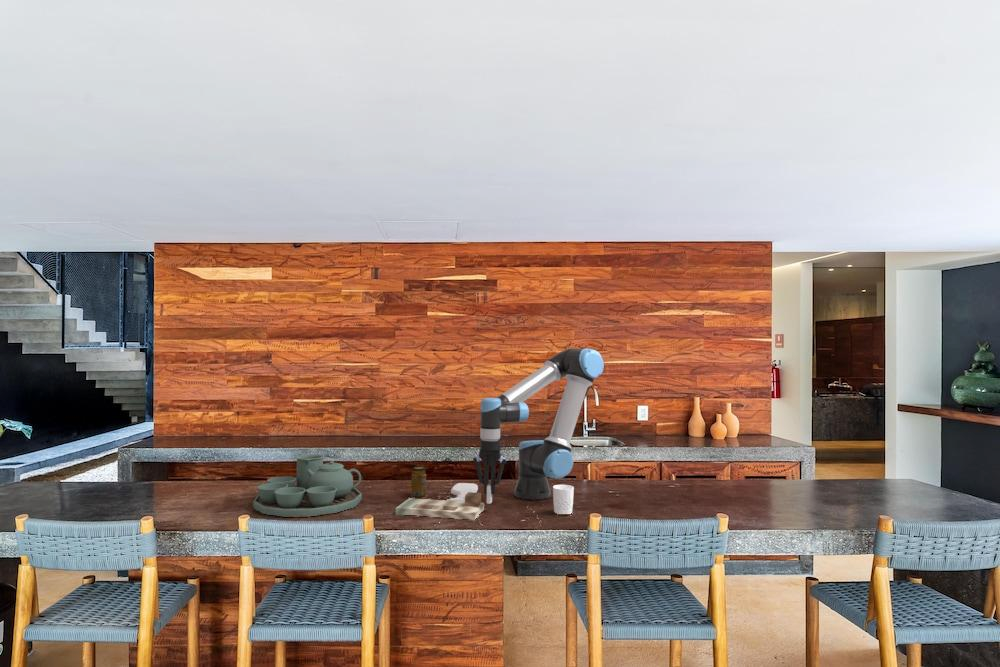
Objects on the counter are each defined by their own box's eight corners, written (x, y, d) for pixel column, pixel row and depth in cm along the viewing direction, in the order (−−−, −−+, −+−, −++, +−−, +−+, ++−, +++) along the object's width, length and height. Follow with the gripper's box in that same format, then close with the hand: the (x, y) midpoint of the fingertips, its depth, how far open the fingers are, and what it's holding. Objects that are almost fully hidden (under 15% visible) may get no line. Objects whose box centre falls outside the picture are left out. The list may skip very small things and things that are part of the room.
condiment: (421, 494, 257) (421, 465, 258) (432, 498, 251) (432, 468, 251) (406, 496, 253) (406, 467, 253) (417, 500, 246) (417, 470, 246)
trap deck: (484, 509, 234) (484, 502, 234) (475, 520, 219) (475, 513, 219) (409, 504, 240) (409, 498, 240) (395, 514, 225) (395, 508, 225)
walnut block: (480, 503, 233) (480, 493, 233) (477, 507, 228) (477, 496, 228) (468, 502, 234) (468, 492, 234) (464, 506, 229) (464, 495, 229)
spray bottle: (479, 490, 267) (469, 505, 242) (454, 489, 268) (442, 504, 244) (479, 483, 267) (470, 498, 242) (454, 482, 268) (442, 497, 244)
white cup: (568, 518, 224) (568, 490, 224) (548, 514, 228) (549, 487, 228) (577, 513, 231) (577, 486, 231) (558, 509, 235) (558, 483, 235)
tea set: (235, 505, 237) (236, 462, 238) (326, 488, 267) (327, 450, 267) (286, 526, 211) (287, 478, 211) (381, 504, 240) (382, 462, 240)
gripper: (509, 438, 233) (508, 501, 232) (475, 437, 235) (474, 499, 235) (505, 441, 225) (504, 506, 225) (471, 440, 228) (470, 504, 227)
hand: (489, 502), depth 230 cm, fingers closed
